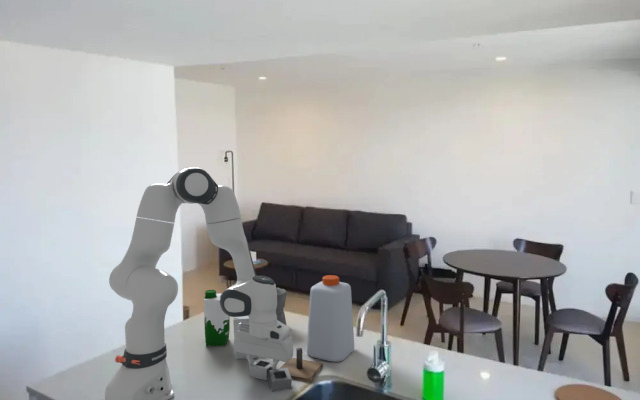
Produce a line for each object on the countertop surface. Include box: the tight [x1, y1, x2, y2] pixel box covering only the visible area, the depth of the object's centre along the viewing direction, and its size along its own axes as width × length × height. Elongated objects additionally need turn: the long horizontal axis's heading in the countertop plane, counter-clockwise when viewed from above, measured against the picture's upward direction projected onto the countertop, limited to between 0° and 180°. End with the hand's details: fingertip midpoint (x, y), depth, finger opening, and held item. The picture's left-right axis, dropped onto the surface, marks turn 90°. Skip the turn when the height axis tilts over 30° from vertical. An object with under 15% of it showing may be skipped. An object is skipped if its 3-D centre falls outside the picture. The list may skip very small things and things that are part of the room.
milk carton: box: [203, 289, 231, 347], centre depth 183 cm, size 9×9×20 cm
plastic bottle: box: [305, 274, 355, 363], centre depth 174 cm, size 15×15×28 cm
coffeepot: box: [275, 283, 287, 325], centre depth 198 cm, size 15×9×18 cm, turn 178°
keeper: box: [278, 347, 324, 383], centre depth 162 cm, size 12×12×8 cm
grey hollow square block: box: [249, 357, 274, 381], centre depth 156 cm, size 6×6×4 cm
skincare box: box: [232, 316, 259, 360], centre depth 173 cm, size 8×6×15 cm
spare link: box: [268, 368, 293, 393], centre depth 151 cm, size 6×6×4 cm
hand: (262, 369), depth 156 cm, fingers closed on grey hollow square block, 6 cm apart
